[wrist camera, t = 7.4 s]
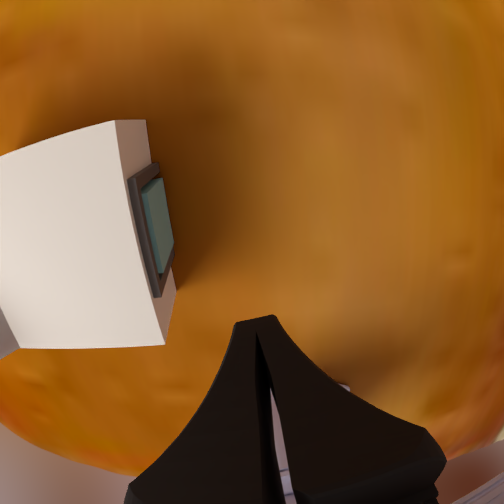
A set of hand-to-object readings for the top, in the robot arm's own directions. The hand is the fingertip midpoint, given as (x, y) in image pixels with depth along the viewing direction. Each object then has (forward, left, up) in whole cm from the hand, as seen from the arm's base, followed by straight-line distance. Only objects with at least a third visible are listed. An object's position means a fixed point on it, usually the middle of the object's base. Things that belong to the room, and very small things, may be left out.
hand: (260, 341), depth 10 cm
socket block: (+9, +3, -10) cm, 14 cm away
